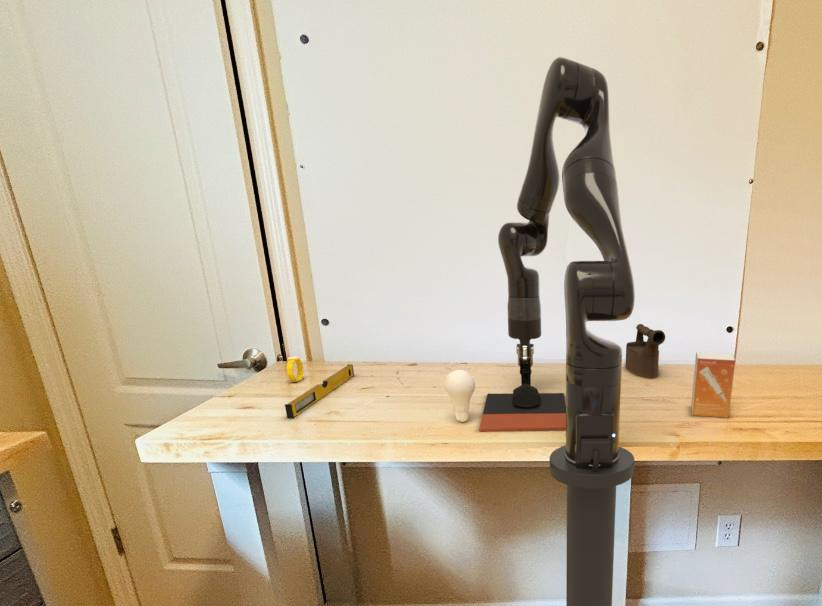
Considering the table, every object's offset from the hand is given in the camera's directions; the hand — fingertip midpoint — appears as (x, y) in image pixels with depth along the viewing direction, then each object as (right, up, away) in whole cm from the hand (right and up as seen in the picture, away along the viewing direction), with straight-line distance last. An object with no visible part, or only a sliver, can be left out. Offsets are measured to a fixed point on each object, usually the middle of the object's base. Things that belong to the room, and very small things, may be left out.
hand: (526, 389), depth 144 cm
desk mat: (+1, -6, -11) cm, 12 cm away
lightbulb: (-11, -9, -18) cm, 23 cm away
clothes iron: (+30, +6, +22) cm, 38 cm away
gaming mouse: (0, -3, -5) cm, 5 cm away
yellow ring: (-58, +3, +7) cm, 59 cm away
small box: (+42, -6, -8) cm, 43 cm away
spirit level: (-47, -2, -3) cm, 47 cm away
